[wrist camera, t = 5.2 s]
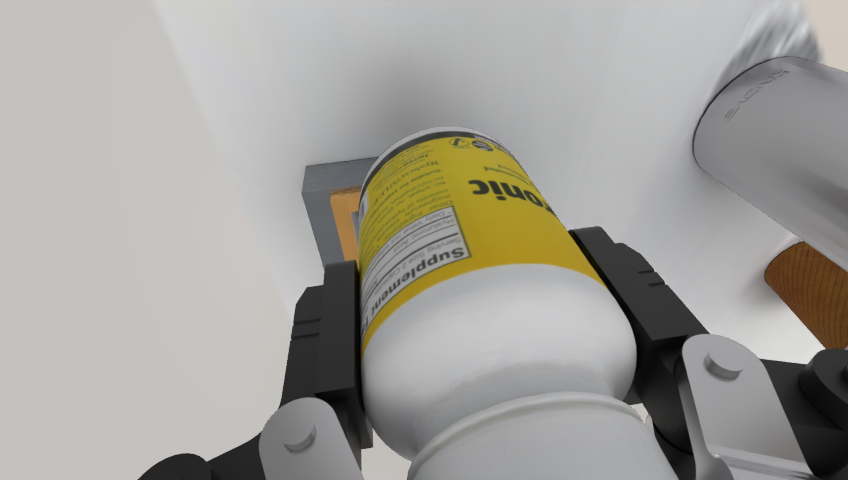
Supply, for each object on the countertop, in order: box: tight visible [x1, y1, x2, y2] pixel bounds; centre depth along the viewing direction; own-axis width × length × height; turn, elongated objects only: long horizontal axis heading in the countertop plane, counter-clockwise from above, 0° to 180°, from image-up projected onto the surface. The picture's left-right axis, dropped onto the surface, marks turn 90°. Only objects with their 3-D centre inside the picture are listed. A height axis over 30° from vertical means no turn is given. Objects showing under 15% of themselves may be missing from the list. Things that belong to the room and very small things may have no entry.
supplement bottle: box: [358, 126, 679, 480], centre depth 10 cm, size 5×5×10 cm
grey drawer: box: [302, 157, 379, 270], centre depth 32 cm, size 13×17×5 cm
